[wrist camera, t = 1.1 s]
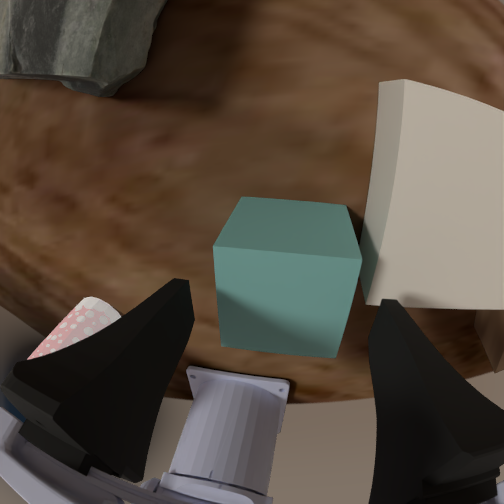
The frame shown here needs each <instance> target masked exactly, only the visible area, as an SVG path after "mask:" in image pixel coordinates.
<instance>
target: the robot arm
mask: <svg viewBox="0 0 504 504" xmlns="http://www.w3.org/2000/svg"><path fill="white" fill-rule="evenodd" d="M194 321H195V318H194V312H193V305H192V299H191V292H190V285H189V280H184V279H176V278H174V279H172V280H171V281H169V282H168V283H167V284H165V285H164V286H163V287H161V288H160V289H159V290H158V291H156V292H155V293H154V294H152V295H151V296H150V297H148V298H147V299H146V300H144V301H143V302H142V303H140V304H139V305H138V306H137V307H135V308H134V309H132V310H131V311H129V312H128V313H126V314H125V315H124V316H122V317H121V318H119V319H118V320H116V321H115V322H113V323H112V324H110V325H108V326H107V327H105V328H103V329H102V330H100V331H98V332H96V333H95V334H93V335H91V336H89V337H87V338H85V339H83V340H81V341H78V342H76V343H74V344H72V345H70V346H68V347H65V348H63V349H60V350H58V351H55V352H52V353H49V354H46V355H43V356H40V357H36V358H32V359H29V360H25V361H21V362H17V363H16V364H15V366H14V367H13V369H12V370H11V372H10V373H9V374H8V376H7V377H6V379H5V380H4V381H3V383H2V384H1V386H0V387H1V390H2V392H3V393H4V395H5V396H6V397H7V398H8V400H9V401H10V402H11V403H12V404H13V405H14V406H15V407H16V408H17V409H18V410H19V411H20V412H21V413H22V414H23V415H24V417H25V418H27V419H26V420H25V422H24V424H23V423H22V422H21V421H20V420H19V419H17V418H16V417H15V416H13V415H12V414H11V413H9V412H8V411H7V410H5V409H4V408H3V407H0V476H1V477H2V478H3V479H4V480H5V481H6V482H7V483H8V484H9V485H10V486H11V487H12V488H13V489H14V490H15V491H16V492H17V493H18V494H19V495H20V496H21V497H22V498H23V499H24V500H25V501H27V502H28V503H29V504H124V501H123V500H125V501H128V502H130V503H131V504H272V502H273V497H268V496H267V492H268V487H269V481H270V474H271V469H272V463H273V456H274V450H275V443H276V437H277V434H278V433H280V431H281V427H282V422H283V417H284V412H285V407H286V403H287V398H288V392H289V387H290V382H289V381H287V380H284V379H275V378H266V377H258V376H250V375H243V374H236V373H230V372H223V371H217V370H211V369H206V368H200V367H195V366H189V367H188V368H187V370H186V372H187V376H188V380H189V383H190V387H191V390H192V394H193V397H194V400H193V403H192V406H191V409H190V412H189V415H188V417H187V420H186V423H185V426H184V429H183V432H182V435H181V437H180V440H179V443H178V446H177V449H176V452H175V455H174V457H173V460H172V463H171V466H170V469H169V472H168V473H167V472H164V473H163V476H162V479H161V480H160V479H157V478H152V479H150V480H148V481H145V482H144V483H142V485H141V486H140V487H138V486H136V485H133V484H130V483H128V482H125V481H123V480H120V479H118V478H116V477H119V478H123V479H126V480H128V481H131V482H133V483H137V482H140V481H142V480H143V477H144V470H145V465H146V459H147V454H148V449H149V446H150V441H151V437H152V433H153V429H154V426H155V422H156V418H157V415H158V412H159V409H160V405H161V402H162V399H163V396H164V394H165V391H166V389H167V386H168V384H169V382H170V380H171V377H172V375H173V373H174V371H175V369H176V367H177V365H178V362H179V360H180V358H181V356H182V354H183V352H184V349H185V347H186V345H187V343H188V340H189V337H190V334H191V331H192V327H193V324H194ZM368 344H369V363H370V370H371V377H372V383H373V390H374V398H375V405H376V415H377V437H376V440H377V441H376V457H375V466H374V475H373V482H372V489H371V494H370V499H369V504H504V480H503V481H501V482H499V483H497V484H496V477H498V476H499V475H500V469H499V467H500V466H501V465H503V464H504V410H503V409H501V408H500V407H498V406H497V405H496V404H494V403H493V402H491V401H490V400H489V399H487V398H486V397H484V396H483V395H482V394H481V393H480V392H479V391H477V390H476V389H475V388H474V387H473V386H472V385H471V384H469V383H468V382H467V381H466V380H465V379H464V378H463V377H462V376H461V375H460V374H459V373H458V372H457V371H456V370H455V369H454V368H453V367H452V366H451V365H450V364H449V363H448V362H447V361H446V360H445V359H444V357H443V356H442V355H441V354H440V353H439V352H438V350H437V349H436V348H435V347H434V346H433V345H432V343H431V342H430V341H429V340H428V338H427V337H426V336H425V335H424V333H423V332H422V331H421V330H420V328H419V327H418V326H417V324H416V323H415V322H414V321H413V319H412V318H411V317H410V315H409V314H408V313H407V311H406V310H405V309H404V308H403V306H402V305H401V304H400V303H399V302H398V300H396V299H382V300H381V303H380V306H379V309H378V312H377V315H376V318H375V320H374V323H373V326H372V329H371V331H370V334H369V337H368ZM111 475H114V476H116V477H113V476H111ZM122 499H123V500H122Z"/></svg>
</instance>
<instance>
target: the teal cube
mask: <svg viewBox="0 0 504 504" xmlns="http://www.w3.org/2000/svg"><path fill="white" fill-rule="evenodd" d="M213 253H214V267H215V280H216V293H217V305H218V316H219V327H220V338H221V346H225V347H231V348H238V349H246V350H253V351H261V352H270V353H279V354H289V355H299V356H311V357H325V358H336V355H337V352H338V349H339V346H340V343H341V339H342V336H343V333H344V329H345V326H346V322H347V319H348V315H349V312H350V308H351V304H352V301H353V297H354V293H355V289H356V285H357V281H358V277H359V273H360V268H361V264H362V256H361V253H360V249H359V246H358V242H357V239H356V236H355V232H354V229H353V226H352V223H351V219H350V216H349V213H348V210H347V207H346V205H339V204H329V203H318V202H307V201H296V200H283V199H270V198H255V197H241V199H240V201H239V202H238V204H237V206H236V207H235V209H234V211H233V212H232V214H231V216H230V218H229V219H228V221H227V223H226V224H225V226H224V228H223V230H222V231H221V233H220V235H219V237H218V238H217V240H216V242H215V244H214V245H213Z"/></svg>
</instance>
